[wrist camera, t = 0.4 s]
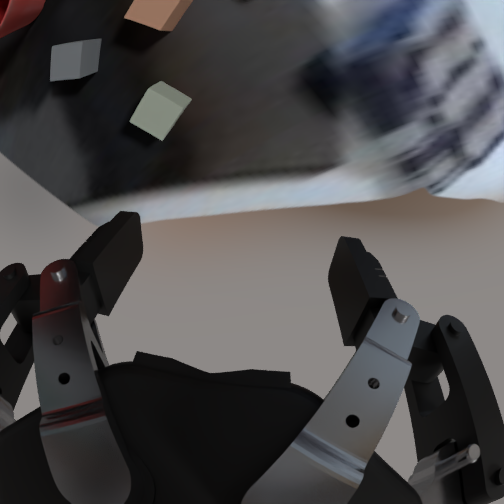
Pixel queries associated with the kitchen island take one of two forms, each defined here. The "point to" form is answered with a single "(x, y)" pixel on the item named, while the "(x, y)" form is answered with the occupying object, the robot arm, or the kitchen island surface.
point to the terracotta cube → (158, 13)
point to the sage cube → (159, 109)
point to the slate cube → (74, 59)
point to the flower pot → (18, 14)
